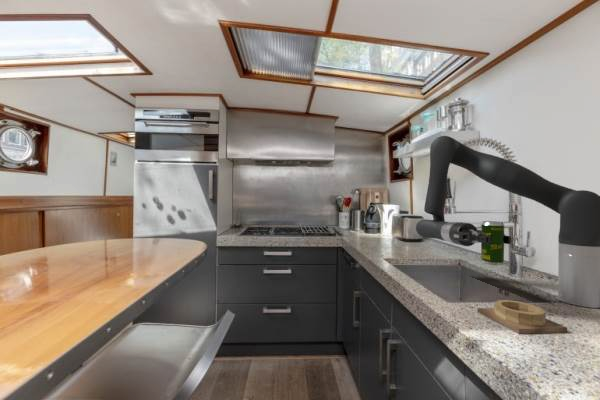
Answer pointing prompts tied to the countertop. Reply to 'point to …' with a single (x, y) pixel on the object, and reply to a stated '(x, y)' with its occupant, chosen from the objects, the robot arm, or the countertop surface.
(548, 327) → the socket board
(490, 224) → the beer can
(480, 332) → the countertop surface
